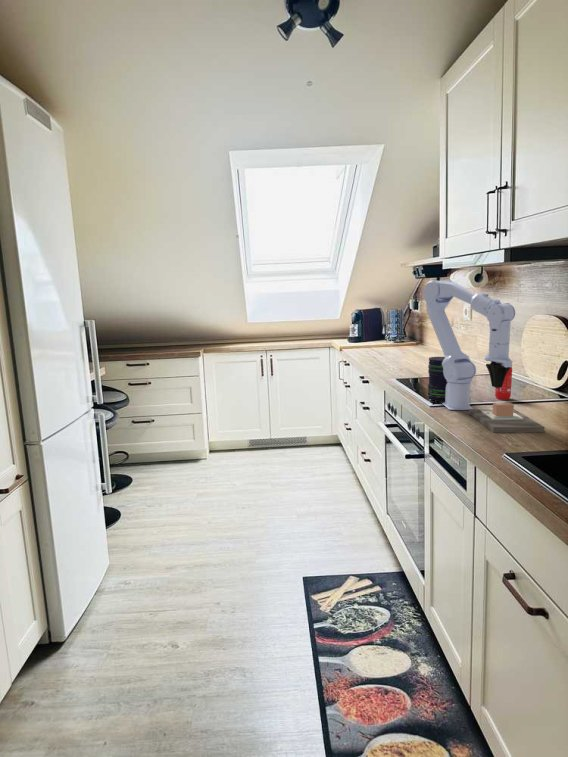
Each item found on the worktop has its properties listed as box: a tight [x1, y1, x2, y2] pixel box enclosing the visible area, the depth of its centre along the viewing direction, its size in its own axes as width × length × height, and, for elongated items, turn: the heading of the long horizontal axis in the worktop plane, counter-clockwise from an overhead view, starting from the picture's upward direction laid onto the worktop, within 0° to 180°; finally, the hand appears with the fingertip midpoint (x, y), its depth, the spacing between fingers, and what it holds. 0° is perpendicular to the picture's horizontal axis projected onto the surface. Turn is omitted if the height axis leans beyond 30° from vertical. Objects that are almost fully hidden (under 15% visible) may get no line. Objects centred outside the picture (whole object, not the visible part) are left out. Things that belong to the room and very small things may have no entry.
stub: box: [485, 402, 523, 420], centre depth 154 cm, size 6×9×4 cm, turn 88°
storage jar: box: [427, 356, 448, 403], centre depth 186 cm, size 10×10×15 cm
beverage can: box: [494, 366, 513, 401], centre depth 186 cm, size 5×5×12 cm
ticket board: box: [468, 407, 545, 433], centre depth 154 cm, size 22×14×2 cm, turn 178°
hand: (496, 386), depth 160 cm, fingers closed
